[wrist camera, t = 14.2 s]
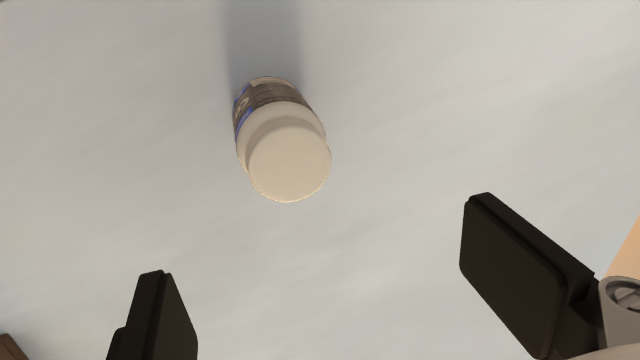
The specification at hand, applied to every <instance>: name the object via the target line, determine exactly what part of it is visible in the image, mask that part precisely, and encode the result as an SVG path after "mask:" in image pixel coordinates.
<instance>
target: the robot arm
mask: <svg viewBox="0 0 640 360" xmlns="http://www.w3.org/2000/svg"><path fill="white" fill-rule="evenodd" d="M459 267H460V270H461V272H462V274H463V275H464V277H465V278H466V279H467V280H468V281H469V283H470V284H471V285H472V286H473V287H474V288H475V290H476V291H477V292H478V293H479V294H480V296H481V297H482V298H483V299H484V300H485V302H486V303H487V304H488V305H489V306H490V308H491V309H492V310H493V311H494V312H495V314H496V315H497V316H498V317H499V318H500V319H501V321H502V322H503V323H504V324H505V325H506V327H507V328H508V329H509V330H510V331H511V333H512V334H513V335H514V336H515V337H516V339H517V340H518V341H519V342H520V343H521V345H522V346H523V347H524V348H525V349H526V350H527V352H528V353H529V354H530V355H531V356H532V357H533V358H534V359H537V360H538V359H539V360H640V280H637V279H633V278H629V277H624V276H609V277H607V278H604V279H602V280H601V281H598V280H597V279H596V278H594V274H595V273H594V272H593V271H592V270H590V269H589V268H588V267H586V266H585V265H584V264H582V263H581V262H580V261H579V260H577V259H576V258H575V257H573V256H572V255H571V254H569V253H568V252H567V251H566V250H564V249H563V248H562V247H560V246H559V245H558V244H556V243H555V242H554V241H552V240H551V239H550V238H549V237H547V236H546V235H545V234H543V233H542V232H541V231H539V230H538V229H537V228H536V227H534V226H533V225H532V224H530V223H529V222H528V221H526V220H525V219H524V218H523V217H521V216H520V215H519V214H517V213H516V212H515V211H513V210H512V209H511V208H510V207H508V206H507V205H506V204H504V203H503V202H502V201H500V200H499V199H498V198H497V197H495V196H494V195H493V194H491V193H489V192H485V193H481V194H477V195H472V196H470V197H469V200H468V201H467V202H466V203H465V206H464V216H463V227H462V238H461V249H460V260H459ZM197 353H198V341H197V335H196V333H195V330H194V328H193V325H192V323H191V320H190V318H189V316H188V313H187V311H186V308H185V306H184V303H183V301H182V299H181V296H180V294H179V291H178V289H177V286H176V284H175V282H174V279H173V277H172V275H171V273H166V274H165V273H164V271H163V270H157V271H153V272H149V273H144V274H141V275H140V276H139V279H138V283H137V286H136V290H135V293H134V297H133V301H132V304H131V308H130V311H129V315H128V318H127V322H126V326H125V327H122V328H118V329H117V330H116V331H115V333H114V335H113V338H112V341H111V344H110V348H109V351H108V354H107V357H106V360H197Z"/></svg>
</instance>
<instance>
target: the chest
mask: <svg viewBox="0 0 640 360" xmlns="http://www.w3.org/2000/svg"><path fill="white" fill-rule="evenodd" d="M0 360H28V359H27V358H26V356H25V355H24V354H23V353H22V351H21V350H20V349H19V348H18V346H17V345H16V344H15V342H14V341H13V340H12V339H11V337H10V336H9V335H8V334H5V335H1V336H0Z"/></svg>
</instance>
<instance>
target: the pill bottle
mask: <svg viewBox="0 0 640 360" xmlns="http://www.w3.org/2000/svg"><path fill="white" fill-rule="evenodd" d="M232 118H233V127H234V134H235V142H236V151H237V155H238V158H239V161H240V163H241V165H242V167H243V169H244V170H245V171H246V173H247V174H248V175H249V178H250V181H251V183H252V184H253V186H254V187H255V189H256V190H257V191H258V192H259V193H260V194H262V195H263V196H265V197H267V198H269V199H271V200H274V201H278V202H294V201H298V200H302V199H304V198H306V197H308V196H310V195H312V194H313V193H315V192H316V191H317V190H318V189H319V188H320V187H321V186H322V185H323V183H324V182H325V181H326V179H327V177H328V174H329V171H330V167H331V153H330V150H329V147H328V145H327V143H326V134H325V131H324V128H323V125H322V123H321V121H320V120H319V118H318V117H317V116H316V114H315V113H314V112H313V110H312V109H311V108H310V106H309V105H308V104H307V102H306V101H305V100H304V98H303V97H302V96H301V94H300V93H299V92H298V90H297V89H296V88H295V87H294V86H292V85H291V84H290V83H288V82H287V81H285V80H283V79H280V78H275V77H262V78H257V79H255V80H253V81H251V82H249V83H248V84H246V85H245V86H244V87H243V88H242V89H241V90H240V91H239V92H238V94H237V96H236V98H235V100H234V104H233V108H232Z"/></svg>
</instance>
